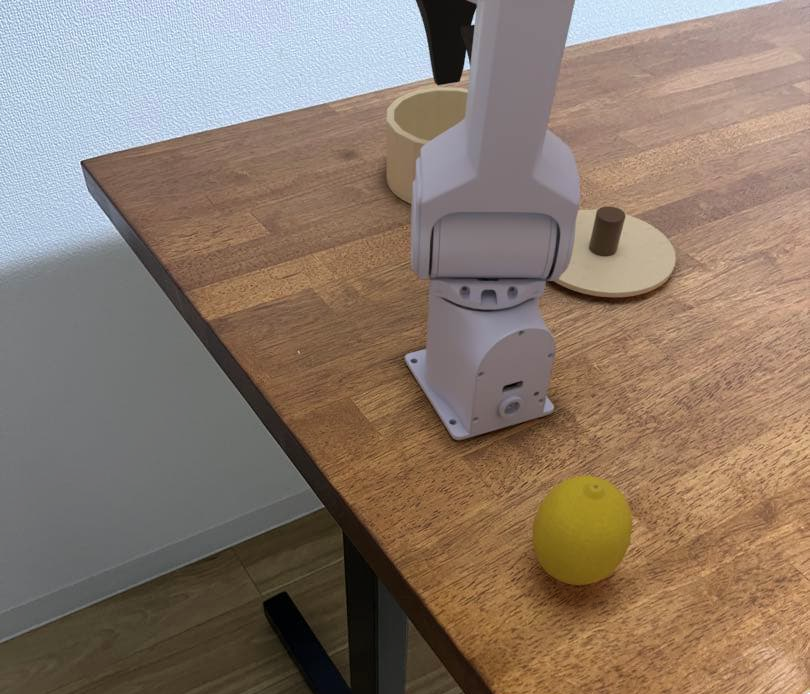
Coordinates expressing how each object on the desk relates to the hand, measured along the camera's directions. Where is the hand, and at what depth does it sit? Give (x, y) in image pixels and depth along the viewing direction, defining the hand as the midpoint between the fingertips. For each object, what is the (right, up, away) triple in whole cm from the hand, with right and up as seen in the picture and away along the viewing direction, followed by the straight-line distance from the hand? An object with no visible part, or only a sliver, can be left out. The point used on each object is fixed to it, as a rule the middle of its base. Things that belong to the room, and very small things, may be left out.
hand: (466, 102), depth 65 cm
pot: (-1, -1, +13) cm, 13 cm away
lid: (+12, -11, +5) cm, 17 cm away
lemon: (+5, -37, -15) cm, 41 cm away
